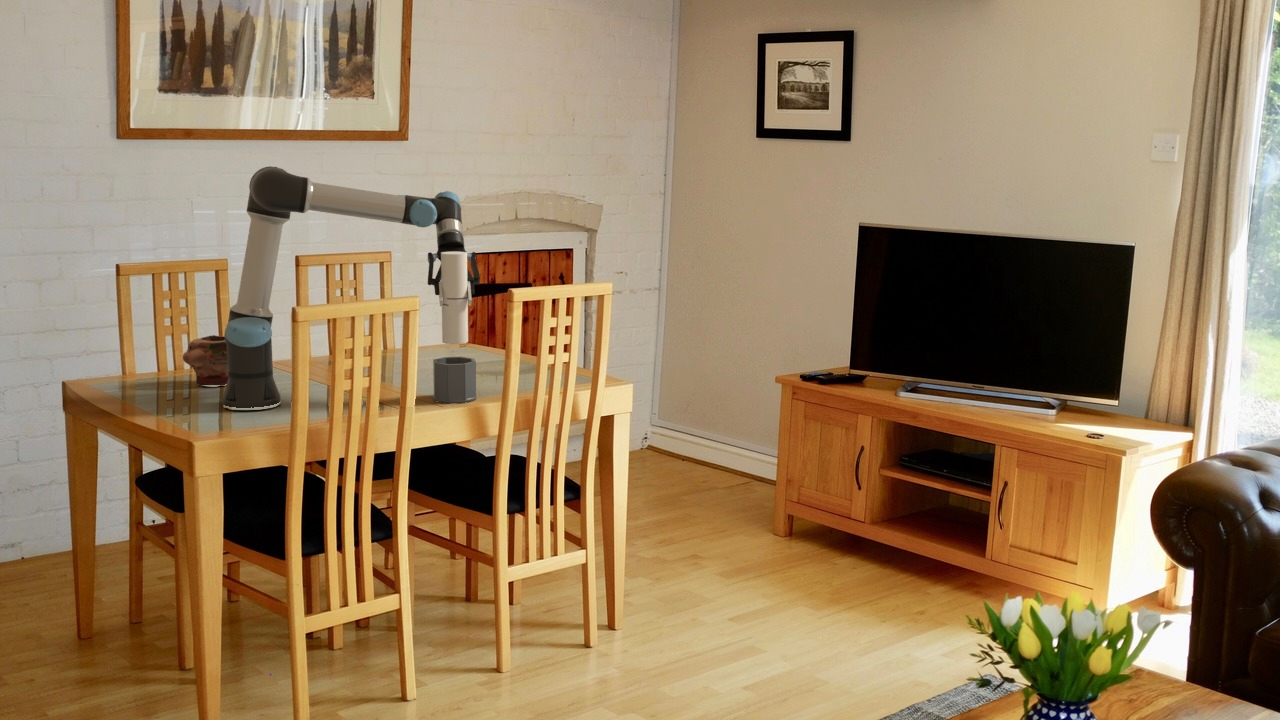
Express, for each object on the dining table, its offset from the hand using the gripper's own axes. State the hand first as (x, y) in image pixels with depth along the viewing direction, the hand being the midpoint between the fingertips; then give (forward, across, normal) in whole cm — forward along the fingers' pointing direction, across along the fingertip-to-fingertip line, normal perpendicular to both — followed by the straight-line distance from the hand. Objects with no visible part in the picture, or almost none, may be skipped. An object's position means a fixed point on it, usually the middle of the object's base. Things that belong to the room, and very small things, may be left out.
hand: (455, 303), depth 340 cm
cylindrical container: (+6, 0, -11) cm, 12 cm away
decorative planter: (-4, +66, -43) cm, 79 cm away
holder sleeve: (+17, 0, -22) cm, 28 cm away
